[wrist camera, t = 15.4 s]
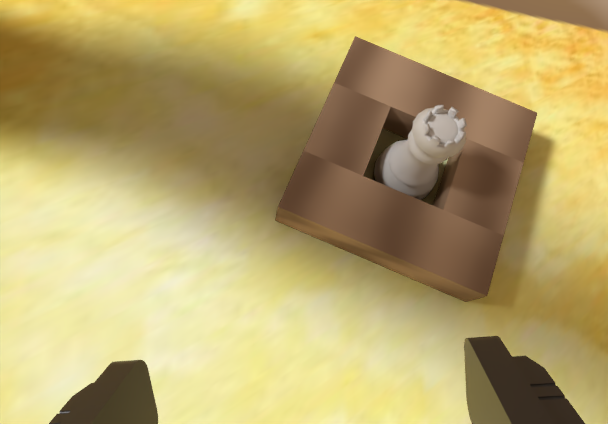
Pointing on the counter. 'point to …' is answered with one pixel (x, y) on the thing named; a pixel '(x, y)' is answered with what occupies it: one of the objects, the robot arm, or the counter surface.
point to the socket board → (399, 206)
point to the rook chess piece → (421, 152)
